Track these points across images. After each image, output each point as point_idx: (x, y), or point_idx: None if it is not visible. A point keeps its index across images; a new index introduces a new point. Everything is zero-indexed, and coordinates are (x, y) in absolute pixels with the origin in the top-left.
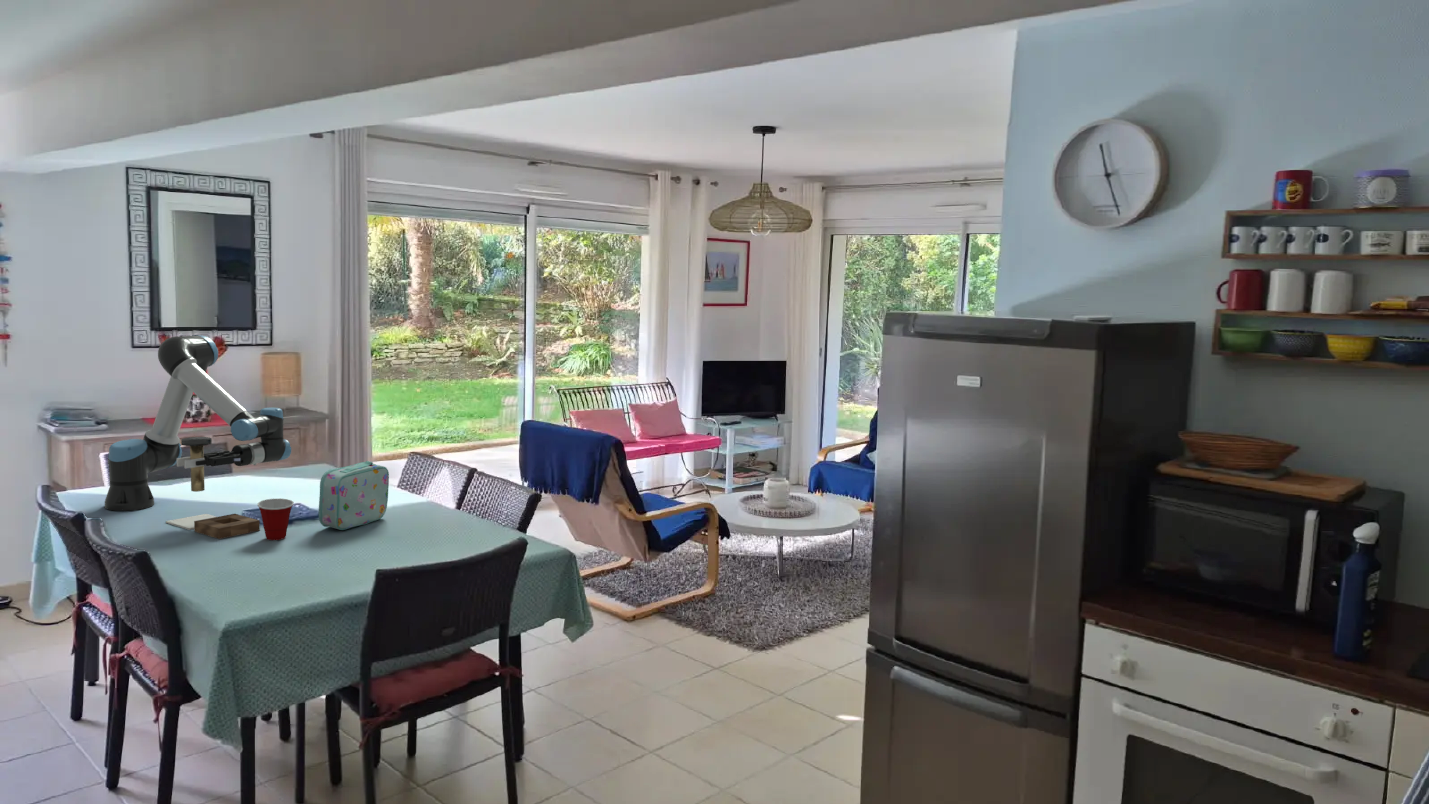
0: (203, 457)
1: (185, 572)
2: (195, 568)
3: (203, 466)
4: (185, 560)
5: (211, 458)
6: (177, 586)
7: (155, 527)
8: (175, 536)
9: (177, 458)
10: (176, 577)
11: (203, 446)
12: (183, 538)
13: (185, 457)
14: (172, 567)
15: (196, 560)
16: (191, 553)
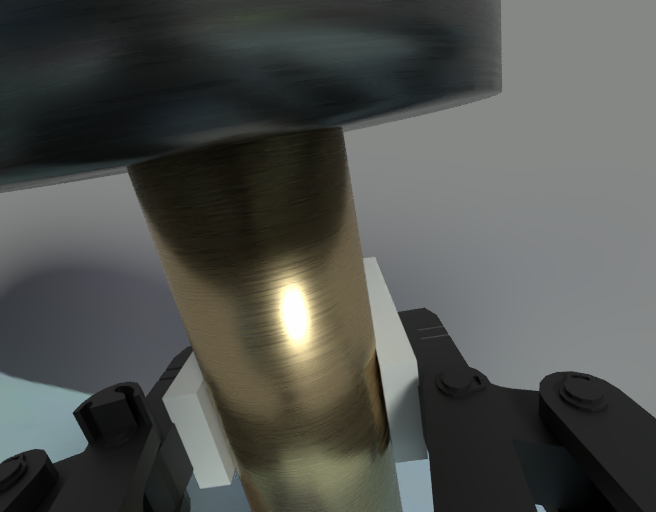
0: (214, 401)
1: (19, 402)
2: (5, 421)
3: (249, 501)
4: (57, 426)
5: (61, 496)
6: (5, 376)
7: (419, 490)
8: (240, 493)
9: (367, 259)
10: (27, 386)
11: (168, 228)
12: (195, 503)
13: (374, 288)
14: (64, 396)
15: (26, 442)
16: (69, 455)
